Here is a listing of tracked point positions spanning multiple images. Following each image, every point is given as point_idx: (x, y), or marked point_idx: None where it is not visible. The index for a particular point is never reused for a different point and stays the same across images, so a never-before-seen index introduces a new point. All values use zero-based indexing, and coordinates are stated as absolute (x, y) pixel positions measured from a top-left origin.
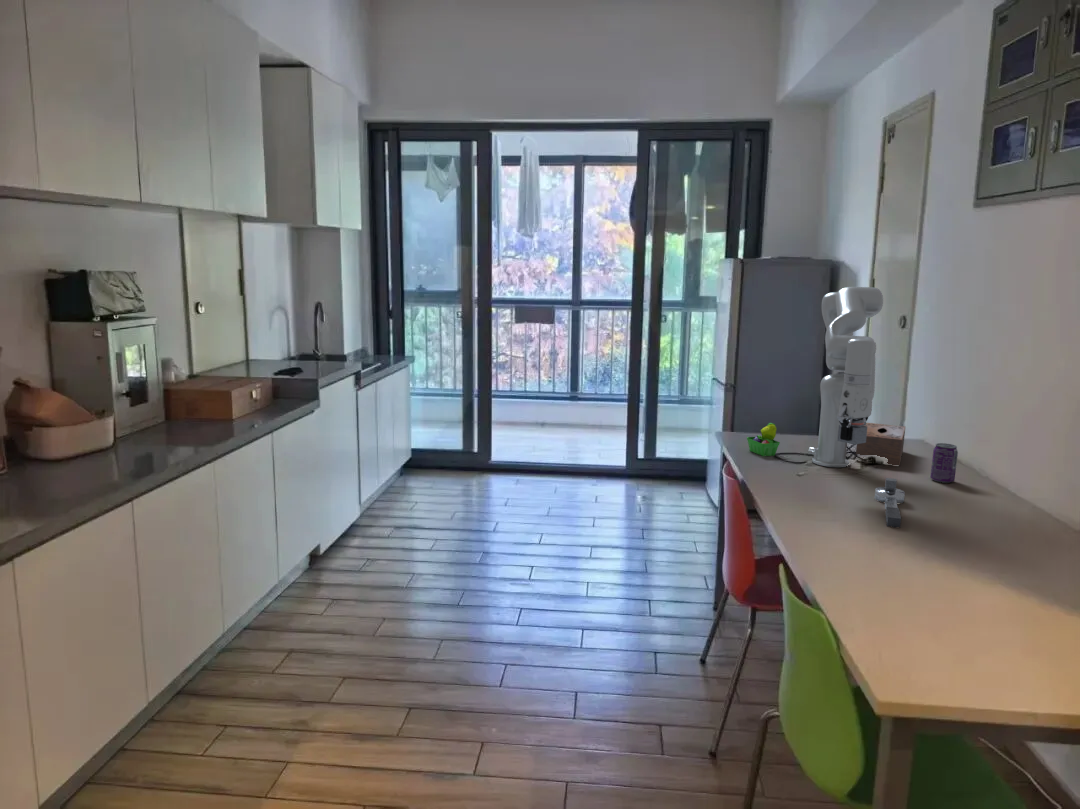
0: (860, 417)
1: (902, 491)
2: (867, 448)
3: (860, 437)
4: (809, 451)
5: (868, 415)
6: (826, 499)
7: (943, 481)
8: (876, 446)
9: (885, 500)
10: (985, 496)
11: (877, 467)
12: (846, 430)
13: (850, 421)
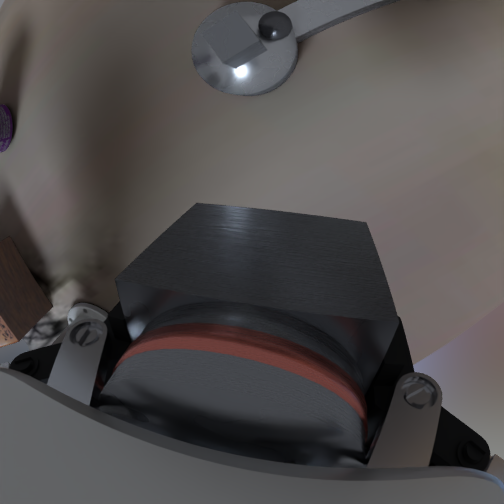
0: (274, 476)
1: (209, 21)
2: (22, 306)
3: (276, 235)
4: None
5: (14, 390)
6: (419, 189)
7: (9, 111)
8: (8, 295)
9: (330, 22)
10: (29, 11)
11: (39, 260)
12: (411, 363)
13: (412, 446)
